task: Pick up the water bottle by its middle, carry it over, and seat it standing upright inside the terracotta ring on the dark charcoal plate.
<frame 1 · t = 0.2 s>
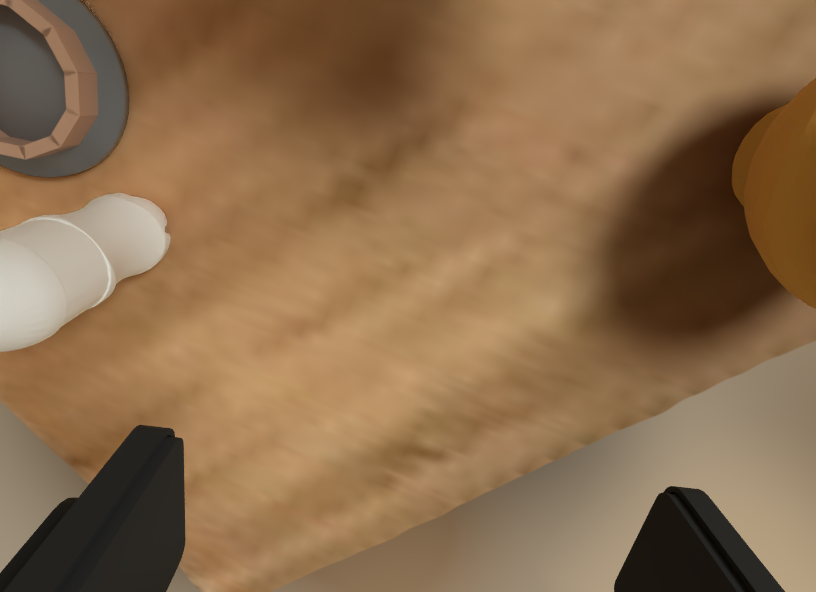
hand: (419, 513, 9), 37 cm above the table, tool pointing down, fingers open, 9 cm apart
water bottle: (142, 225, 44), on the table
decorative bowl: (787, 160, 43), on the table
ring plate: (29, 77, 39), on the table
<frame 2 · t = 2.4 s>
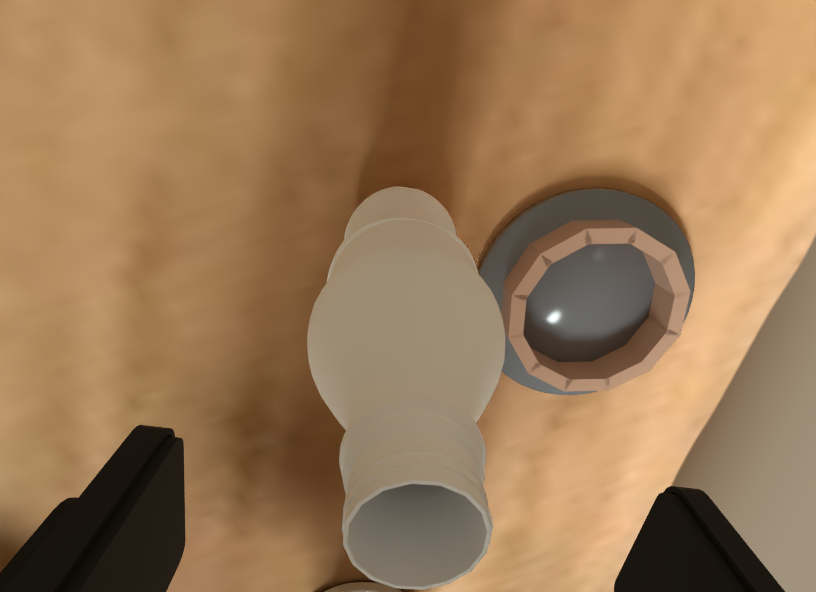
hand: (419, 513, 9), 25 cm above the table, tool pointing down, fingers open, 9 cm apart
water bottle: (400, 232, 32), on the table
ring plate: (578, 296, 34), on the table
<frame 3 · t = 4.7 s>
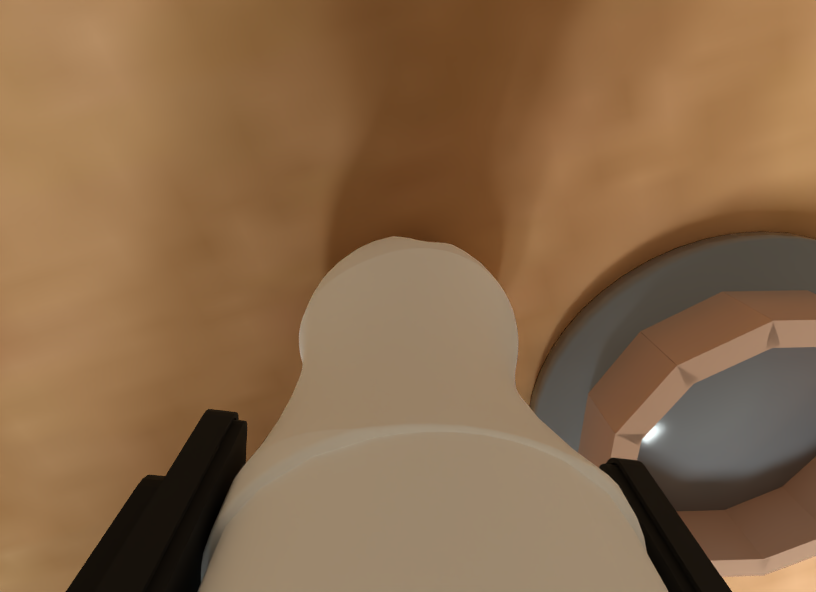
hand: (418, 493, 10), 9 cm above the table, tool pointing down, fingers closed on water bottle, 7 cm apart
water bottle: (406, 306, 18), on the table, touching gripper
ring plate: (708, 408, 20), on the table
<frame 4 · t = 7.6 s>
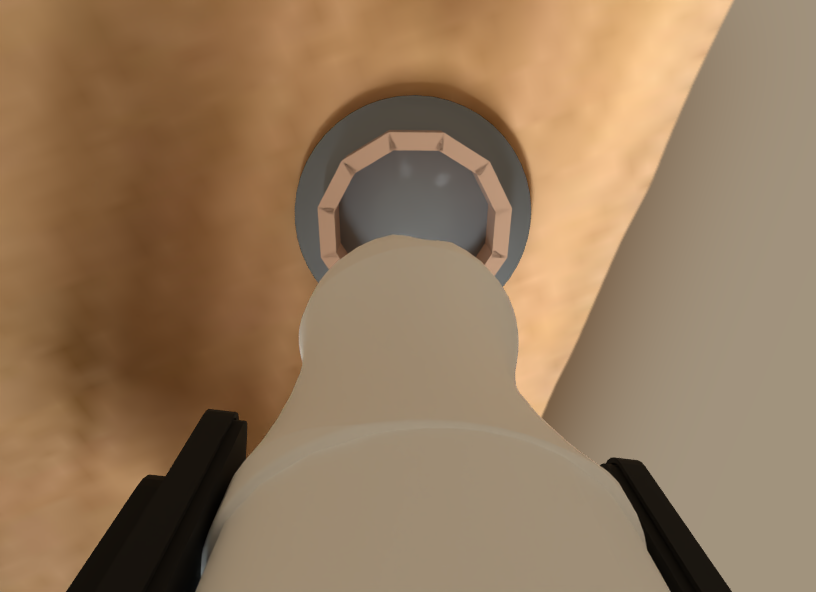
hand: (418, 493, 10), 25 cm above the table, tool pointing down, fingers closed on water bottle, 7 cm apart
water bottle: (406, 305, 18), point 15 cm above the table, touching gripper
ring plate: (413, 220, 32), on the table
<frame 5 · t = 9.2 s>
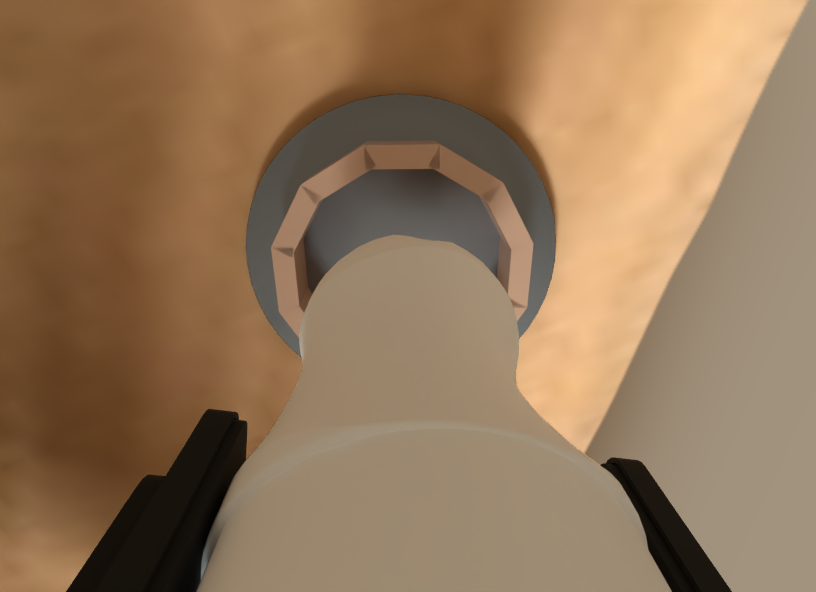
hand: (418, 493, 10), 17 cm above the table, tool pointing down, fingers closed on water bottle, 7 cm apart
water bottle: (407, 305, 18), point 7 cm above the table, touching gripper
ring plate: (402, 256, 25), on the table
when the fingers open (12 cm above the table, at t = 10.6 s): water bottle drops 2 cm, resting on ring plate.
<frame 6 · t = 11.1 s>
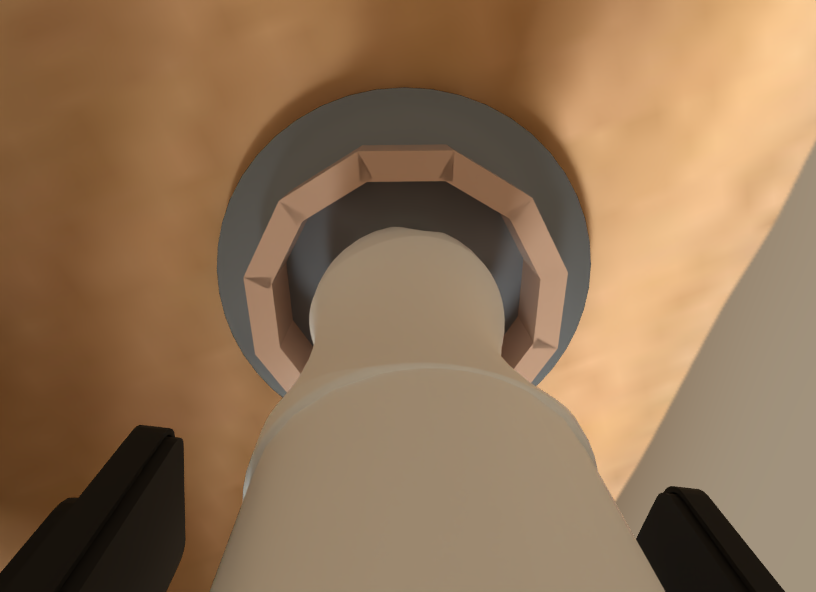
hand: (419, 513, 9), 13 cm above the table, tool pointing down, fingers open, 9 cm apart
water bottle: (405, 291, 20), point 1 cm above the table, touching ring plate
ring plate: (405, 281, 21), on the table
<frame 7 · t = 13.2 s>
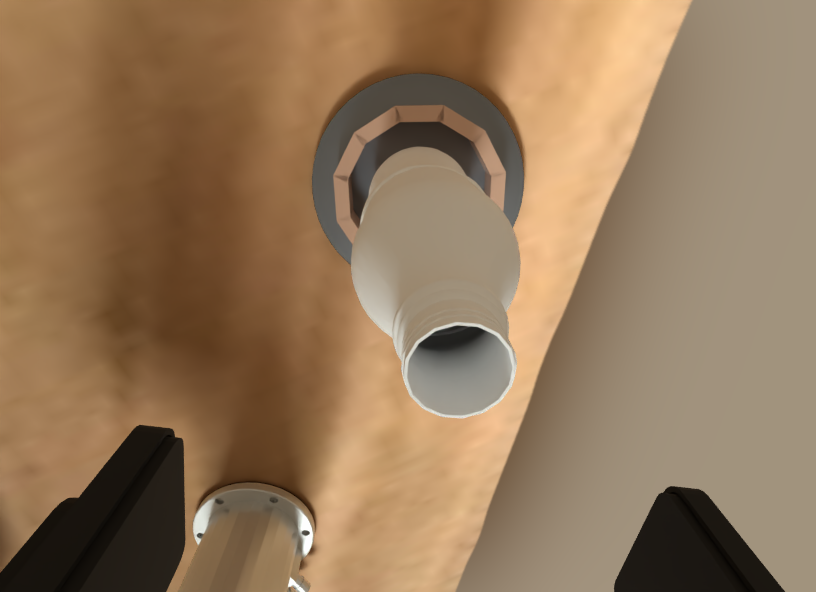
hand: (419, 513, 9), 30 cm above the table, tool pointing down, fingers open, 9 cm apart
water bottle: (417, 192, 35), point 1 cm above the table, touching ring plate
ring plate: (417, 188, 36), on the table
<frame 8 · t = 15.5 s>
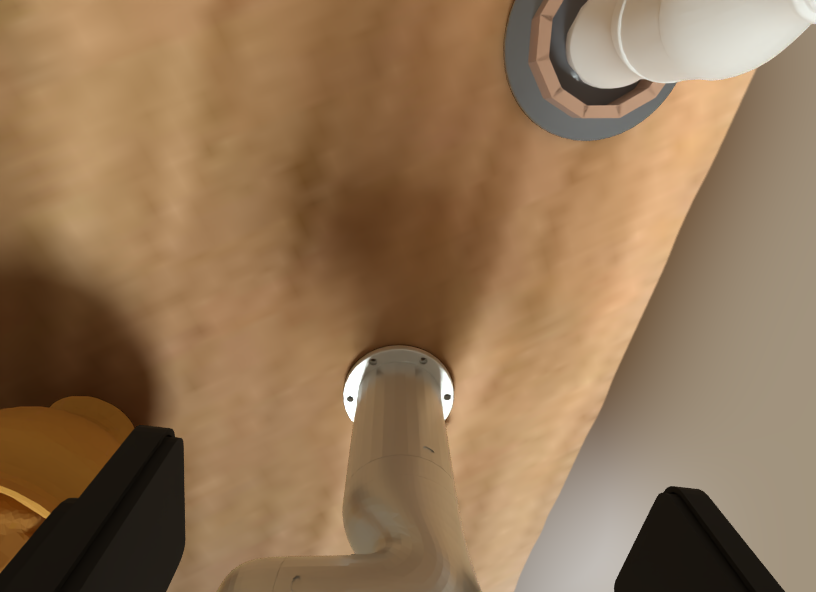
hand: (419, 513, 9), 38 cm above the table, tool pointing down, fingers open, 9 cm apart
water bottle: (598, 43, 39), point 1 cm above the table, touching ring plate
decorative bowl: (91, 432, 55), on the table
ring plate: (595, 43, 40), on the table
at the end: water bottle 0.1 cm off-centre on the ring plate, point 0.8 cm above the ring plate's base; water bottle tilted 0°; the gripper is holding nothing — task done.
